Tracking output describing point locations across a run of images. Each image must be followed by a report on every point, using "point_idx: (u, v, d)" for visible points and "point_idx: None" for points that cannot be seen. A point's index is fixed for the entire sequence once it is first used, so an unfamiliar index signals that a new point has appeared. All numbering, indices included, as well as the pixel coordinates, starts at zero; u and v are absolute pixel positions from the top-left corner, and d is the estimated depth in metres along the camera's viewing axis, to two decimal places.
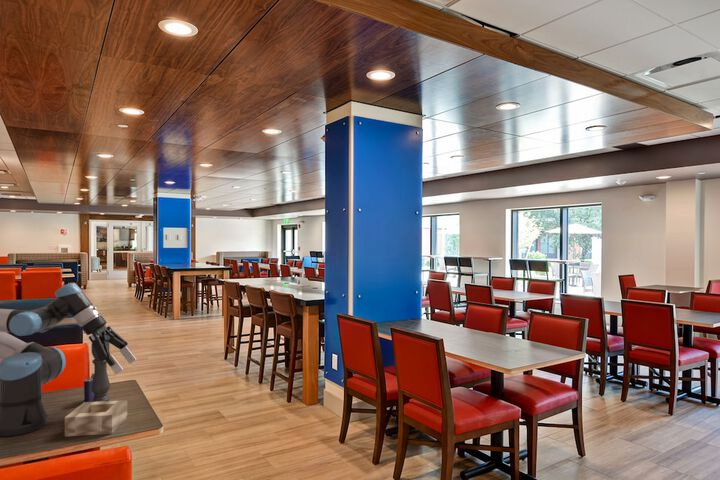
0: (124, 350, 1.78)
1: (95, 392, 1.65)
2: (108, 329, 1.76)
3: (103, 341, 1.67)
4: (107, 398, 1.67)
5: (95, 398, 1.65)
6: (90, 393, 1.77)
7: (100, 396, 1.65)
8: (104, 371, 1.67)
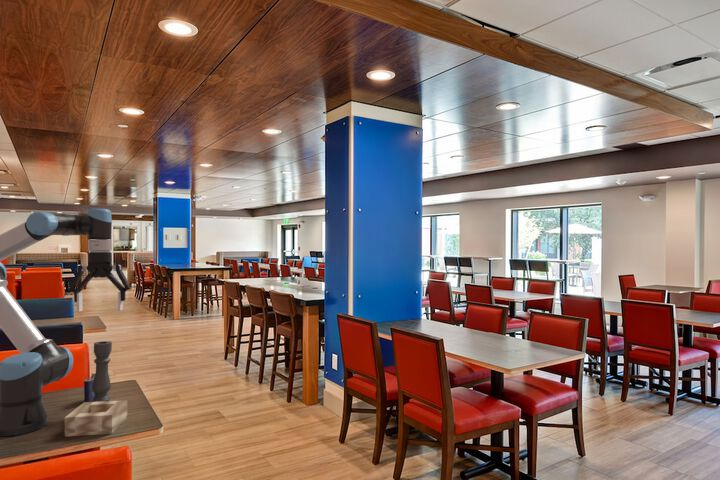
0: None
1: (96, 392, 1.65)
2: (116, 267, 1.68)
3: None
4: (107, 398, 1.67)
5: (95, 398, 1.65)
6: (90, 393, 1.77)
7: (100, 396, 1.65)
8: (105, 371, 1.67)
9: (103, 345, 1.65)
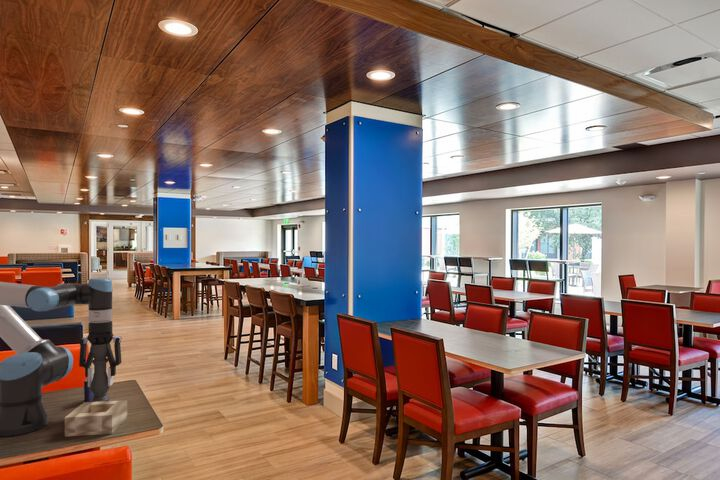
0: None
1: (95, 392, 1.64)
2: (115, 339, 1.67)
3: None
4: (107, 398, 1.67)
5: (95, 398, 1.65)
6: (90, 393, 1.77)
7: (100, 396, 1.65)
8: (104, 371, 1.66)
9: (100, 346, 1.65)
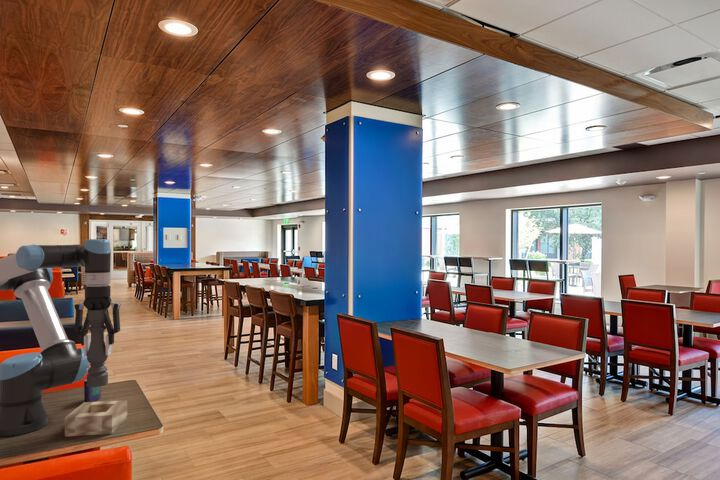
0: None
1: (91, 361, 1.52)
2: (114, 305, 1.55)
3: None
4: (104, 368, 1.55)
5: (91, 368, 1.53)
6: (90, 393, 1.77)
7: (97, 366, 1.53)
8: (101, 339, 1.54)
9: (97, 311, 1.52)
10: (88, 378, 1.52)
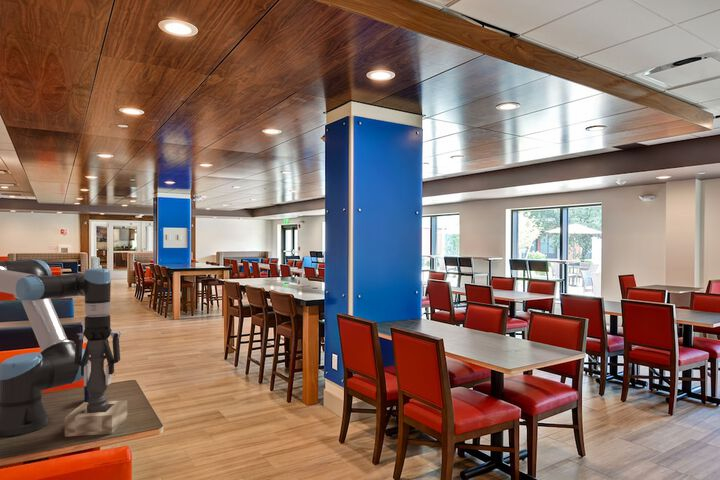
0: None
1: (91, 392, 1.52)
2: (114, 335, 1.55)
3: None
4: (104, 398, 1.55)
5: (91, 398, 1.53)
6: None
7: (97, 396, 1.53)
8: (101, 369, 1.54)
9: (97, 342, 1.52)
10: (88, 408, 1.52)
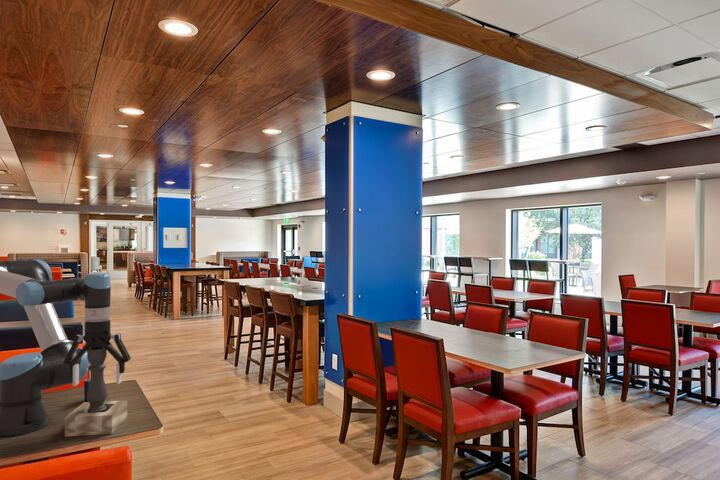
0: None
1: (91, 401, 1.52)
2: None
3: None
4: (104, 407, 1.55)
5: (91, 408, 1.53)
6: None
7: (96, 405, 1.53)
8: (101, 378, 1.54)
9: (97, 351, 1.53)
10: None
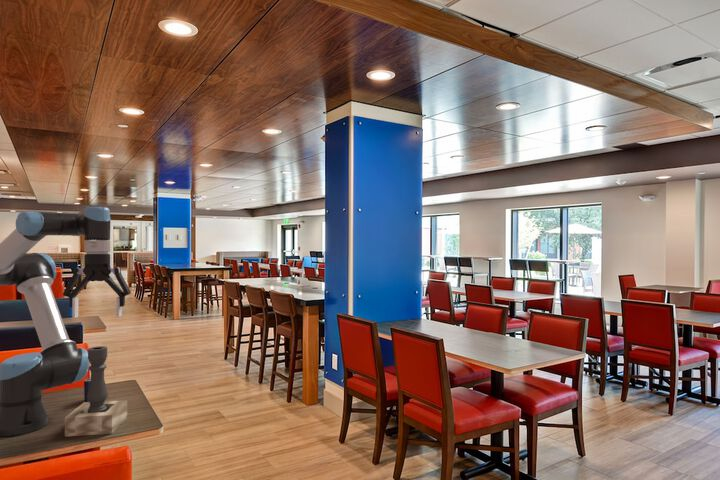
0: None
1: (91, 401, 1.52)
2: None
3: None
4: (104, 408, 1.55)
5: (91, 408, 1.53)
6: None
7: (97, 405, 1.53)
8: (101, 378, 1.54)
9: (98, 351, 1.52)
10: None
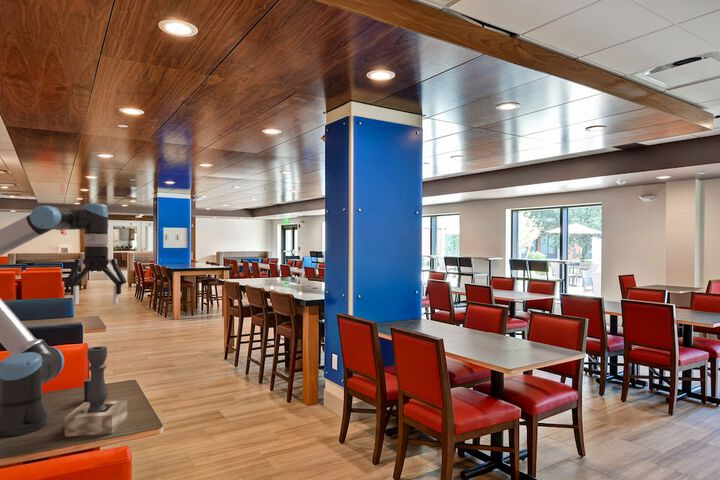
0: None
1: (91, 401, 1.52)
2: (111, 261, 1.71)
3: None
4: (104, 408, 1.55)
5: (91, 408, 1.53)
6: None
7: (97, 406, 1.53)
8: (101, 378, 1.54)
9: (98, 351, 1.53)
10: None
